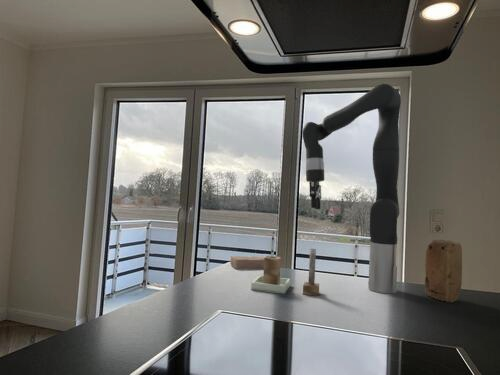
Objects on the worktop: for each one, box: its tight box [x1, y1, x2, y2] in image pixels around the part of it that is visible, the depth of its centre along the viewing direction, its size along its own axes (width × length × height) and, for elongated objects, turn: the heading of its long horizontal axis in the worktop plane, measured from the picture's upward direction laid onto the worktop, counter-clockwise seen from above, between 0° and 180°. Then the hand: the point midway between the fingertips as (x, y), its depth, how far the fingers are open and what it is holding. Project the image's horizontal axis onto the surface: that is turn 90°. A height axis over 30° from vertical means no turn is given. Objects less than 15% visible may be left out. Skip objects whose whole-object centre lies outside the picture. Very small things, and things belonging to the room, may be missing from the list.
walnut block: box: [262, 255, 282, 285], centre depth 126 cm, size 5×5×10 cm
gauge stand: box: [302, 248, 320, 297], centre depth 122 cm, size 5×5×15 cm
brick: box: [230, 255, 266, 270], centre depth 160 cm, size 17×8×5 cm, turn 110°
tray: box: [250, 275, 291, 295], centre depth 126 cm, size 12×12×2 cm
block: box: [424, 239, 463, 303], centre depth 123 cm, size 11×8×20 cm
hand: (316, 208), depth 148 cm, fingers open, 8 cm apart
